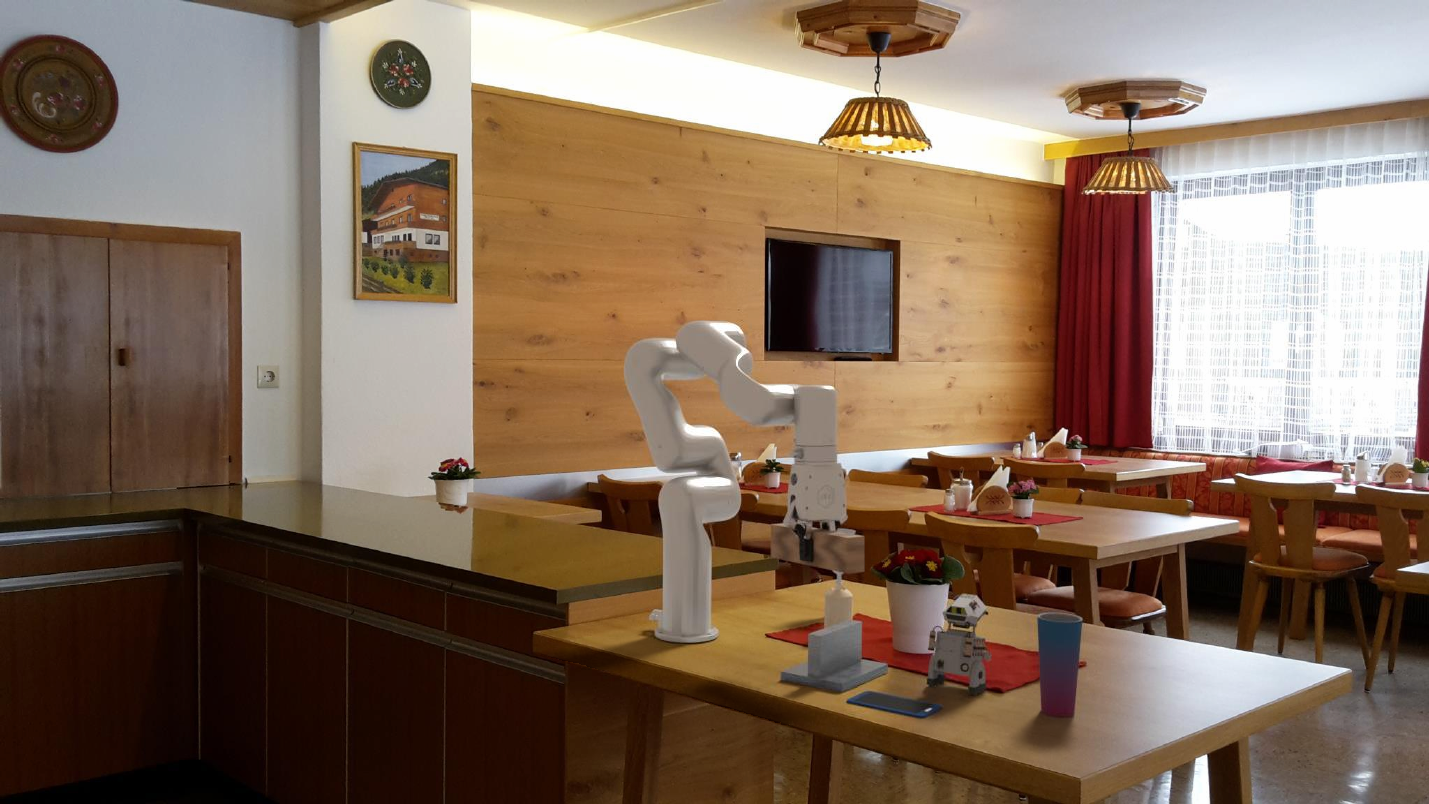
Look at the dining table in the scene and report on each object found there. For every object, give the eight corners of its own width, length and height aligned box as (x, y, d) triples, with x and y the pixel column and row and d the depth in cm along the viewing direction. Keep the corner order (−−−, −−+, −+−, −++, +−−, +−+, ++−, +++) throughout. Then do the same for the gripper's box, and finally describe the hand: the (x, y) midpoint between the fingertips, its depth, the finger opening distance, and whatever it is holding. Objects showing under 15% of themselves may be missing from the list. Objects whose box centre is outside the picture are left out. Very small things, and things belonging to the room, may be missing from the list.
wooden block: (864, 571, 197) (864, 536, 197) (848, 573, 195) (848, 537, 195) (786, 555, 215) (786, 523, 215) (770, 557, 213) (770, 524, 213)
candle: (850, 641, 228) (851, 590, 227) (822, 640, 229) (823, 589, 228) (853, 635, 233) (854, 585, 233) (825, 633, 234) (826, 584, 234)
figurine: (1002, 684, 199) (1003, 597, 198) (969, 699, 190) (971, 607, 189) (954, 674, 204) (955, 589, 204) (920, 688, 196) (922, 599, 195)
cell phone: (923, 721, 179) (923, 716, 179) (844, 704, 187) (844, 700, 187) (944, 710, 185) (944, 705, 185) (866, 694, 193) (866, 689, 193)
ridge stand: (780, 680, 200) (781, 630, 199) (828, 661, 213) (829, 615, 212) (841, 692, 193) (842, 641, 192) (887, 672, 205) (888, 624, 205)
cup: (1028, 705, 186) (1030, 612, 186) (1070, 705, 187) (1072, 612, 186) (1044, 719, 180) (1046, 622, 179) (1087, 718, 180) (1089, 621, 180)
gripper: (791, 458, 197) (791, 567, 197) (865, 454, 206) (866, 558, 206) (764, 456, 203) (765, 561, 204) (838, 452, 212) (839, 553, 213)
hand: (816, 558), depth 205 cm, fingers closed on wooden block, 3 cm apart
